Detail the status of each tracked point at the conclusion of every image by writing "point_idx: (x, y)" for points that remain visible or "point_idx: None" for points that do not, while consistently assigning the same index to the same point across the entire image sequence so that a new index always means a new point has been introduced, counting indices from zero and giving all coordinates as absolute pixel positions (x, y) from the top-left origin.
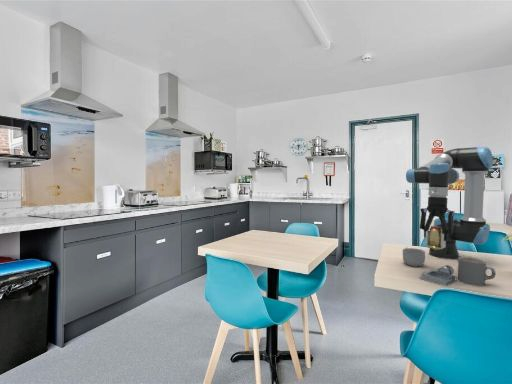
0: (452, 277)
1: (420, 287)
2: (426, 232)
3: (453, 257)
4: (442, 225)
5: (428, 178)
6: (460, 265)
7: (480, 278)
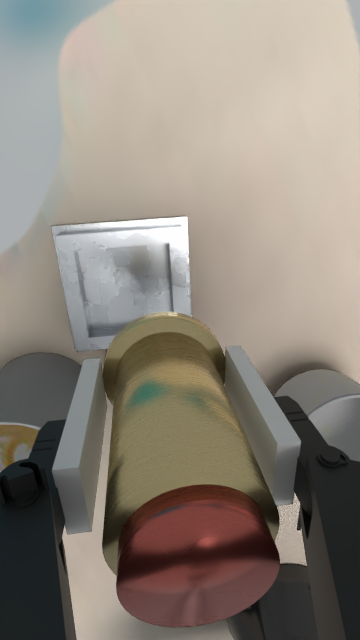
0: (70, 318)
1: (110, 60)
2: (286, 429)
3: None
4: (45, 628)
5: None
6: (53, 405)
7: None
